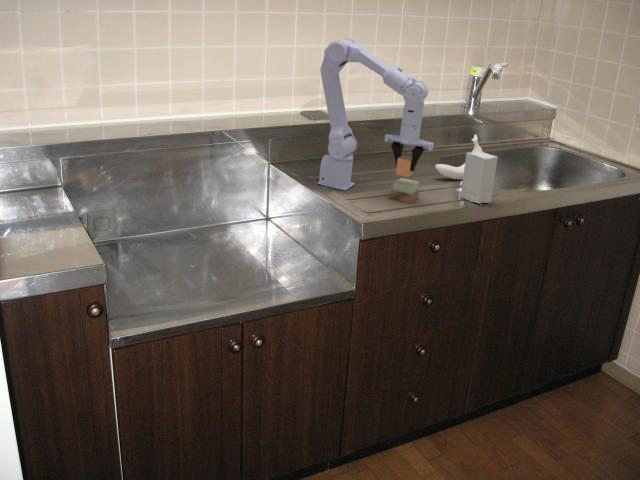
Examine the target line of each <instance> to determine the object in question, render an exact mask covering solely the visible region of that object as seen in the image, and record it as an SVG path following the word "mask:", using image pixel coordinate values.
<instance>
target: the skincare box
mask: <svg viewBox="0 0 640 480" xmlns="http://www.w3.org/2000/svg"><path fill="white" fill-rule="evenodd" d="M498 157H499V156H497V155H494V154H489V153H487V152H484V151H483V152H481V151H474V152H472V151H469V152H466V154H465V161H464V163H465V168H464V176H463V179H462V184H461V192H460V198H461V199H464V200H467V201H469V202H470V203H473V202H475V203H483V202H488V201H491V202H492V197H493V193H494V185H495V179H496V178H495V177H496V170H497V164H498ZM475 203H474V204H475Z"/></svg>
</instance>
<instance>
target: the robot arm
mask: <svg viewBox="0 0 640 480" xmlns="http://www.w3.org/2000/svg"><path fill="white" fill-rule="evenodd" d="M323 52H324V56H323V60H322V62H321V66H320V78H321V82H322V87H323V88H322V89H323V93H324V98H325V104H326V110H327V115H328V120H329V121H328V122H329V125H330V131H329V135H328V145H327V153H328V154H324V156H323V157H322V158H321V162H320V168H319V180H318V182H317V185H319V184H321V185H320V186H323V185H324V187H328V188H332V189H333V188H334V189H337V190H342V191H347V190H348V189H350V188H351V187H353V186H354V185H355V182H352V171H353V162H354V155H353V153H354V152H355V151H356V150H357V147H358V141H357V139H356V137H355V136H354V133H353V130H352V128H351V127H350V126H349V123H348V117H347V113H346V111H347V110H346V108H345V101H344V95H343V89H342V84H341V78H340V72H342V70H343V68H344V67H345V65H346V64H348V63H360V64H361V65H364V66H365V68H368V69H369V70H371V71H373V72H374V73H376V74H377V75H379V76H380V77H382V80H383V81H382V82H383V84H384V85H386V86H387V87H389V88H390V89H392V90H393V91H394V92H396V93H397V94H399V95H400V96H402V97H403V100H404V106H403V111H402V117H401V123H400V124H401V125H400V133H399V135H397V134H389V133H386V134H385V135H384V142H385V143H386V142H388V143H392V144H391V146H390V147H391V151H392V153H393V156H394V162H395V168H397V160H398V158H399V157H400V156H402V154H403V150H404V146H409V147H414V148H412V149H411V153H412V154H411V157H412V163H411V169H410V171H413V172H415V169H416V167H417V164H418V161H419V160H420V158H421V156H422V154H423V153H424V152H425V150H428V151H432V150H433V149H434V142H431V141H428V140H424V139H420V136H421V129H422V121H423V115H424V108H425V107H424V106H425V99H427V97H428V94H429V89H428V86H427V85H426V84H425V83H424V82H423V81H421V80H417V78H415V77H413V76H412V77H411V76H410V75H409V74H407V73H406V72H404V71H403V70H404V68H402V67H401V66H398V67H397V65H396V66H395V65H394V66H388V65H387V64H386V63H385V62H383V61H382V60H381V59H380V58H378V57H376V56H375V55H374V54H373V53H371V52H370V51H369V50H368V49H366V48H365V47H364V46H363V45H362V44H360V43H358V42H355V41H354V40H353V39H351V38H344V39H341V40H333V41H331V42H330V43H329V45H327V47H326V48H325V49H324V51H323Z"/></svg>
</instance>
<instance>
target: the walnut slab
mask: <svg viewBox="0 0 640 480" xmlns="http://www.w3.org/2000/svg"><path fill="white" fill-rule="evenodd" d="M419 194H420V189H418V190H417V191H416V192H414V193H413V194H412V195H411V194H407V193H403V192H398V191H394V190H393V188H392V189H391V190H390V191H389V198H388V199H389V200H392V201H396V202H402V203H406V204H410V205H412V204H413V203H414V202H415V201H416V200H418V198H419Z"/></svg>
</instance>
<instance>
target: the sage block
mask: <svg viewBox="0 0 640 480" xmlns="http://www.w3.org/2000/svg"><path fill="white" fill-rule="evenodd" d="M419 185H420V181H416V180H412V179H408V178H403V177H400V178H399V179H396V180H395V181H394V182H393V187H392V189H393V190H394V191H398V192H403V193H407V194H411V195H412V194H413V193H414V192H416V191H417V190H419Z"/></svg>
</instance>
